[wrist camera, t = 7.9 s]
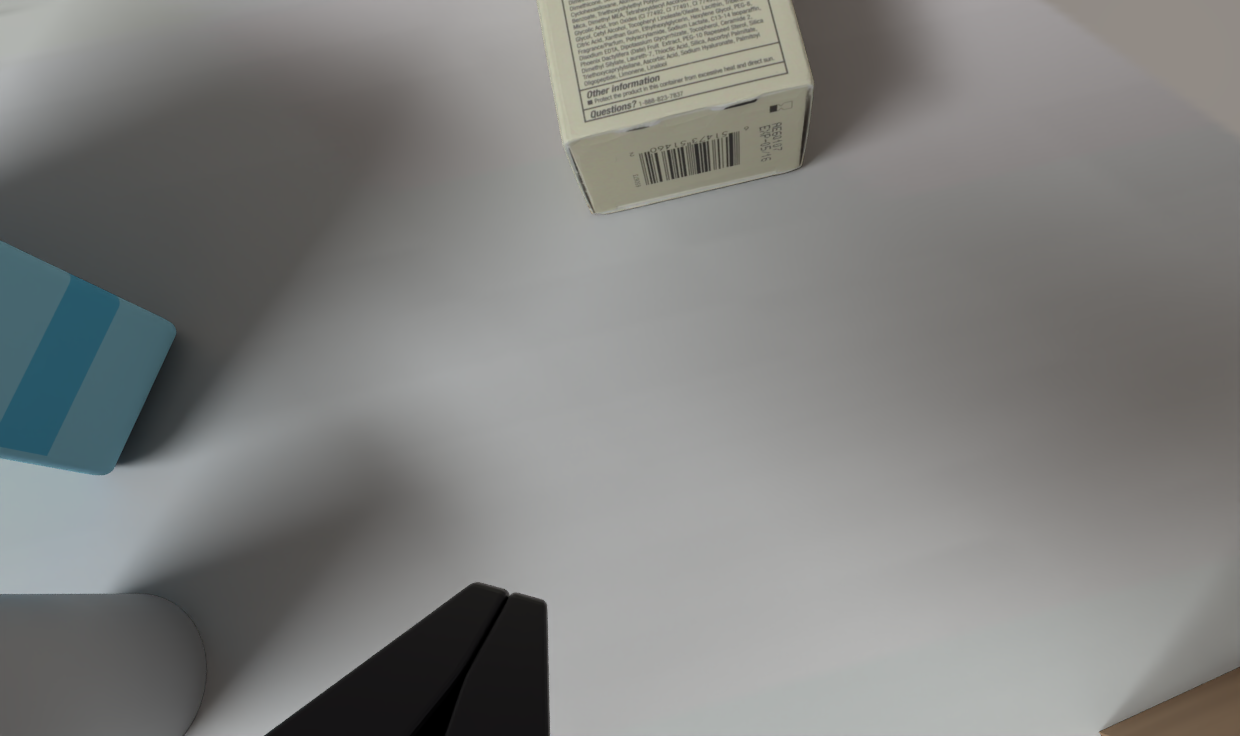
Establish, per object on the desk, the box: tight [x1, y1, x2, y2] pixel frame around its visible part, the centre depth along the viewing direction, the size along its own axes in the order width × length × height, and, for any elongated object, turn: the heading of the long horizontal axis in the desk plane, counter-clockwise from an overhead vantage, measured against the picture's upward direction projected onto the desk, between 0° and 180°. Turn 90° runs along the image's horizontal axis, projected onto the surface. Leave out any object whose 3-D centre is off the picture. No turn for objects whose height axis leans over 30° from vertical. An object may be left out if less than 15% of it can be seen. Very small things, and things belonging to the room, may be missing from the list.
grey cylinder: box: [0, 594, 206, 736], centre depth 19 cm, size 4×4×8 cm
